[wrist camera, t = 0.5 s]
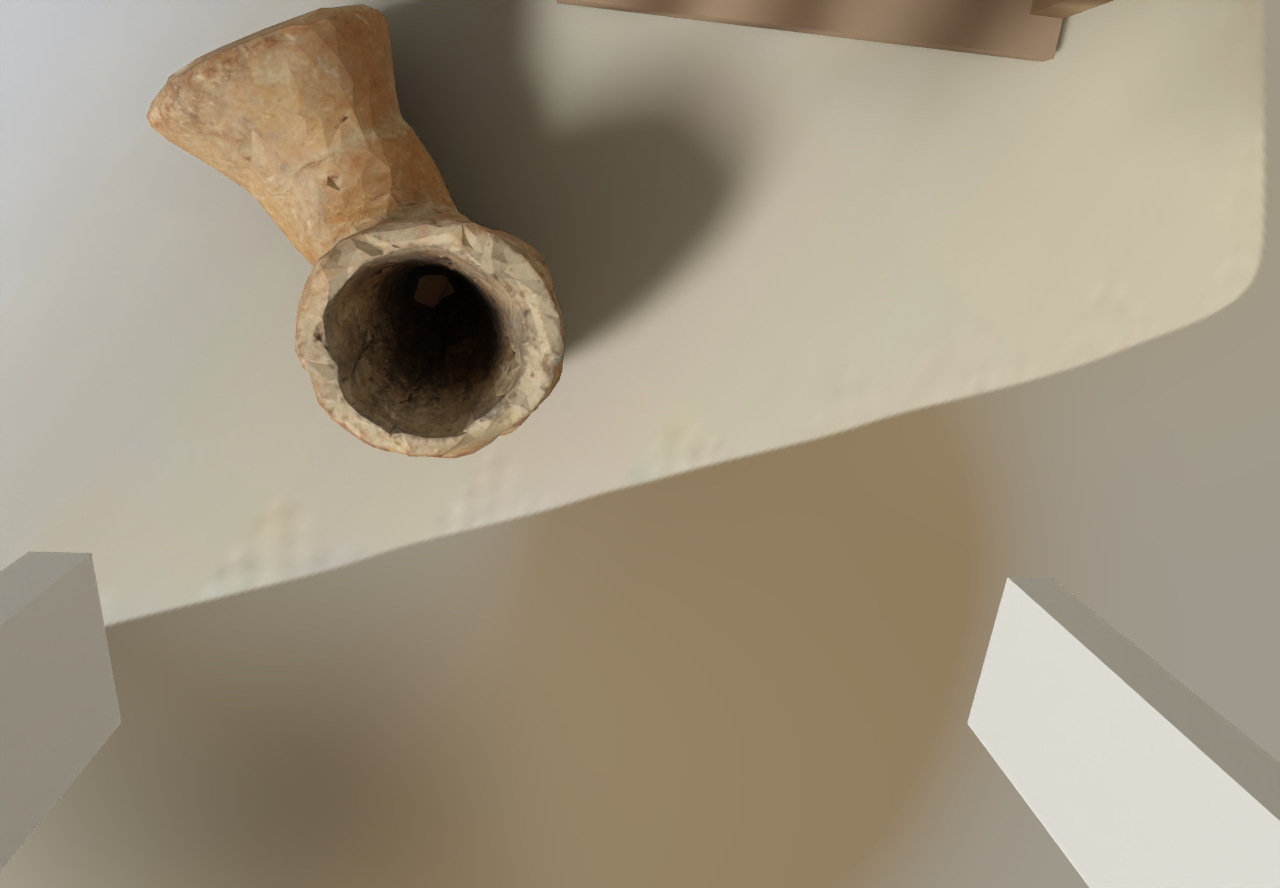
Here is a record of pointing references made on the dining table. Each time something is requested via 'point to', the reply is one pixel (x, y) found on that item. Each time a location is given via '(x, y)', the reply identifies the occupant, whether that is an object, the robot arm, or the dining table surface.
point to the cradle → (889, 20)
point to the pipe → (373, 237)
